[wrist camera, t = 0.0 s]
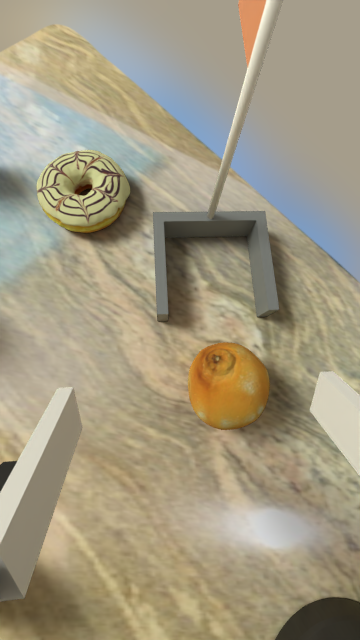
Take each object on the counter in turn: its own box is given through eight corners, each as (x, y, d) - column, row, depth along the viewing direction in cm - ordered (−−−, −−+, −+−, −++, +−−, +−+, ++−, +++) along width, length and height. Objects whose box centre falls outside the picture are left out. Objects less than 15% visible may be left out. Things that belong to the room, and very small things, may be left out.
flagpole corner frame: (266, 316, 31) (567, 149, 8) (157, 321, 30) (138, 144, 7) (249, 190, 34) (420, -174, 12) (152, 190, 33) (128, -208, 11)
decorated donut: (145, 192, 34) (143, 169, 30) (99, 253, 31) (91, 237, 28) (81, 154, 34) (71, 128, 30) (31, 212, 32) (13, 191, 28)
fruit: (172, 362, 29) (176, 358, 21) (234, 336, 30) (260, 323, 22) (200, 432, 27) (215, 455, 20) (264, 402, 29) (303, 412, 21)
